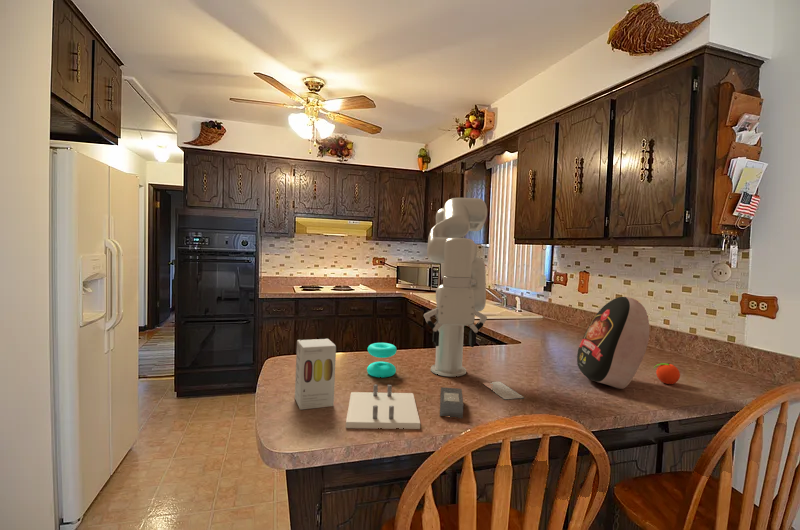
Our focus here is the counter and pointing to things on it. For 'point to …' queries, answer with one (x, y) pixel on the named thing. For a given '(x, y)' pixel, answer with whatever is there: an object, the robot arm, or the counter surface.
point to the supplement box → (315, 373)
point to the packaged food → (615, 343)
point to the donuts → (381, 367)
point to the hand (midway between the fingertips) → (453, 345)
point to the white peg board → (382, 410)
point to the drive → (451, 402)
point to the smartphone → (505, 391)
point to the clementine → (667, 373)
